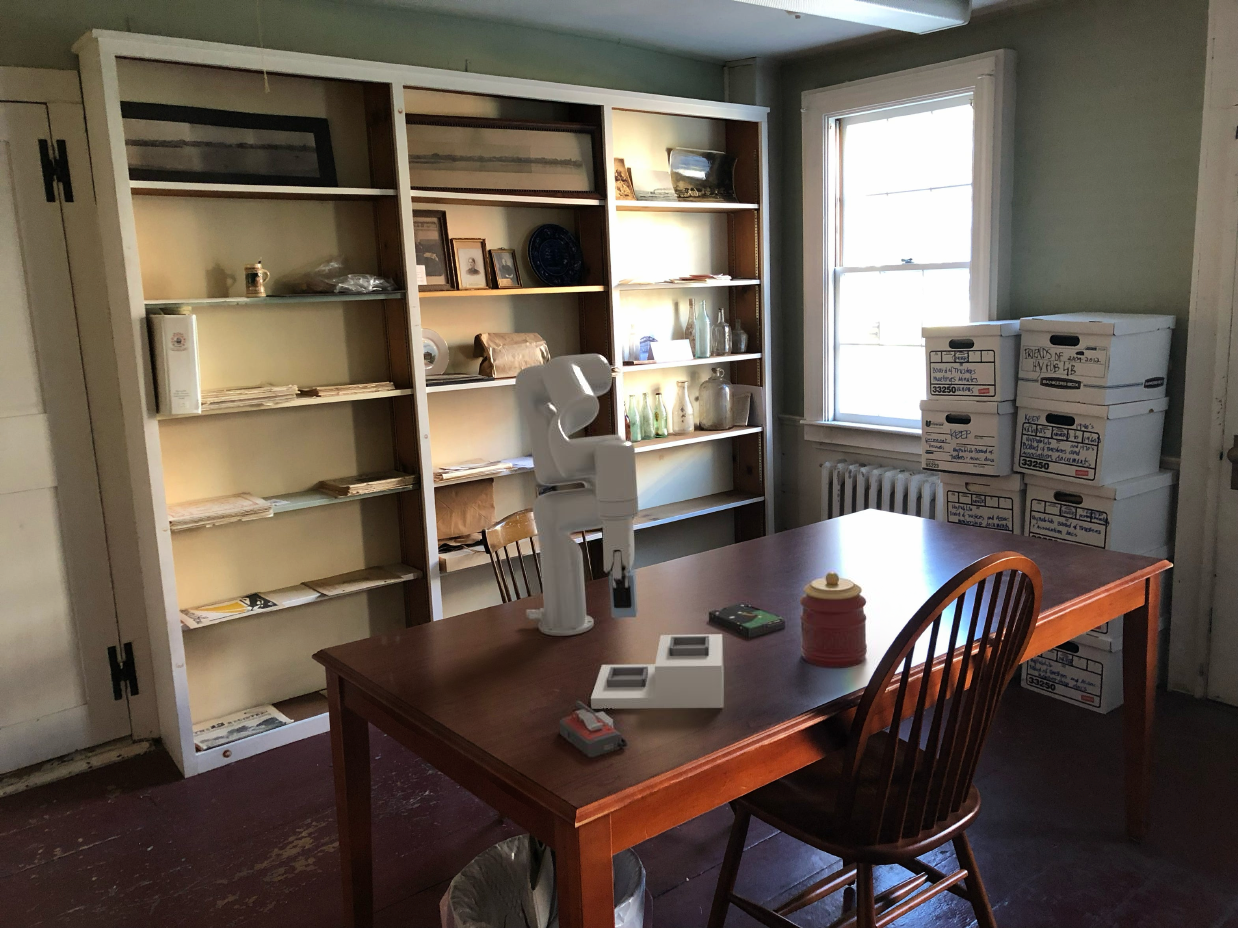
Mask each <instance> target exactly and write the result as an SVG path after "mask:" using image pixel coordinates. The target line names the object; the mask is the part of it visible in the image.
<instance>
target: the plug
mask: <svg viewBox="0 0 1238 928" xmlns="http://www.w3.org/2000/svg"><path fill="white" fill-rule="evenodd" d="M612 572H613V570H610V573H609V575H608V581H609V596H610V609H611V613H610V615H611V618H613V619H614V618H615V619H616V618H617V619H619V618H623V619H624V618H637V614H638V613H639V612H638V610H639V609H638V598H637V596H638V594H637V582H636V580H637V579H636V570H635V569H631V570H629V571H628V582H629V586H630V590H631V607H630V608H615V607H614V599H613V573H612ZM622 576H624V577H625V574H622Z"/></svg>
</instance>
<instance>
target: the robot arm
mask: <svg viewBox="0 0 1238 928" xmlns="http://www.w3.org/2000/svg"><path fill="white" fill-rule="evenodd" d="M612 382H613V371H612V368H611V366H610V363H609V362H608V359H606V357H604V356H603V355H601V354H598V353H585V354H572V355H571V354H570V355H561V356H557V357H554V358H551V359H549V360H548V361H547V362H546V363H545V364H543V363H542V364H536V365H530V366H527V367H525V368H523V369H521V370H520V371H518V372H517V374H516V377H515V384H514V385H515V387H514V388H515V395H516V398H517V402H518V405H519V407H520V409H521V412H522V414H523V417H524V419H525V421H526V424H527V426H528V431H529V440H530V441H529V442H530V446H531V447H530V449H531V455H532V456H531V458H532V464H533V470H534V474H535V478H536V480H537V482H538V483H539V484H540V485H543V486H561V485H568V484H576V483H582V484H584V487H581V488H574V489H572V488H571V489H564V490H556V491H555V490H554V491H550V492H546V493H544V494H541V495H539V496H538V497H536V499H535V500H534V502H533V504H532V516H533V521H534V524H535V529H536V533H537V538H538V539H537V540H538V546H539V557H540V570H541V581H542V583H541V584H542V598H543V607H540V609H526V611H525V615H526V618H527V619H529V621H539V623H538V630H539V631H540V632H541V633H543V634H545V635H547V636H548V635H550V636H555V637H556V636H557V637H565V636H574V635H579V634H582V633H585V632H587V631H589V630H592V629H593V627H594V626H595V624H594V621H595V620H594V618H592V616H590V615H587V604H586V603H587V602H586V601H587V600H586V590H585V589H586V588H585V573H584V572H585V571H584V561H583V551H582V549H581V546H580V545H579V543H578V542H576V541H575V539H573V538H572V537H571V534H572V533H576V532H582V531H590V530H596V529H601V528H602V549H603V550H602V551H603V554H602V555H603V571H604V572H605V573H609V572H611V571H613V572H612V573H613V599H614V607H615V608H630V607H631V590H630V586H629V582H628V571H629V570H632V567H633V564H634V562H635V529H634V518H635V517H638V516H639V514H640V512H639V511H640V510H639V497H638V485H637V484H638V483H637V482H638V481H637V467H636V452H635V451H636V450H635V445H634V444H633V443H632V442H631V441H629V440H626V439H625V438H624V437H623V436H621V435H620V434H606V435H598V436H597V435H596V436H595V435H594V436H586V437H578V438H569V436H570V435H573V434H574V433H576V432H578V431H580V430H581V429H583V428H585V427H586V426H588V425H590V424H591V423H592V422H593V421H594V420H595V418H596V417H597V415H598V414H599V410H600V402H599V400H598V398H597V397H599V396H602V395H604V394H606V393H607V392H609V390H610V389H611V387H612V384H613V383H612ZM611 569H612V570H611ZM622 574H625V577H624V576H622Z"/></svg>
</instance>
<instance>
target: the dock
mask: <svg viewBox="0 0 1238 928" xmlns="http://www.w3.org/2000/svg"><path fill="white" fill-rule="evenodd" d="M723 644H724V643H723V634H722V633H719V634H716V633H715V634H714V633H710V634H706V633H705V634H660V637H659V643H658V647H657V652H656V657H655V662H654V663H653V664H651V663H649V664H647V663H645V664H642V663H641V664H640V663H639V664H638V663H637V664H601V667H600V669H599V673H598V675H597V678H596V681H595V685H594V687H593V688H594V689H593V691H592V694H591V695H590V696H591V697H590V706H591V707H590V709H591V710H593V709H596V710H597V709H601V710H602V709H603V708H604V709H606V708H608V709H610V708H612V709H724V694H725V693H724V691H725V690H724V689H725V687H724V685H725V683H724V682H725V681H724V680H725V669H724V666H725V665H724V648H723Z"/></svg>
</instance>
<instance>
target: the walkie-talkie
mask: <svg viewBox="0 0 1238 928" xmlns="http://www.w3.org/2000/svg"><path fill="white" fill-rule="evenodd" d="M575 706H576V707H577V708H579V710H575V711H572V713H571V715H569V716H565V717H563V718H562V719H560V720H559V732H560V735H561V737H563V738H564V739H565V738H566V739H565V740H567V742H569V743H570V742H571V744H572V743H573V744H574V745H573V744H572V745H573V746H574V747H575V748H577V749H578V750H579V749H580V750H582V751H583V752H582V751H581V752H582V753H583V754H584V755H585V754H586V755H588V756H587V757H588V758H595V756H596V757H598V755H599V756H601V755H600V754H602V755H604V754H603V753H605V754H607V753H606V752H608V753H610V752H609V751H611V752H613V751H612V750H615V751H617V750H616V749H618V748H621V749H623V748H627V746H628V741H627V740H626V739H625V738H623V736H622V732H620V731H618V730H617V729H615V728H614V719H613V718H611V717H610V716H608V715H607V714H606V712H604V711H599V712H597V711H594V710H593V709H591V707H589V706H587V705H586V704H585V703H583V702H581V701H580V700H577V701H576V702H575ZM618 750H619V749H618ZM586 755H585V756H586Z"/></svg>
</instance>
